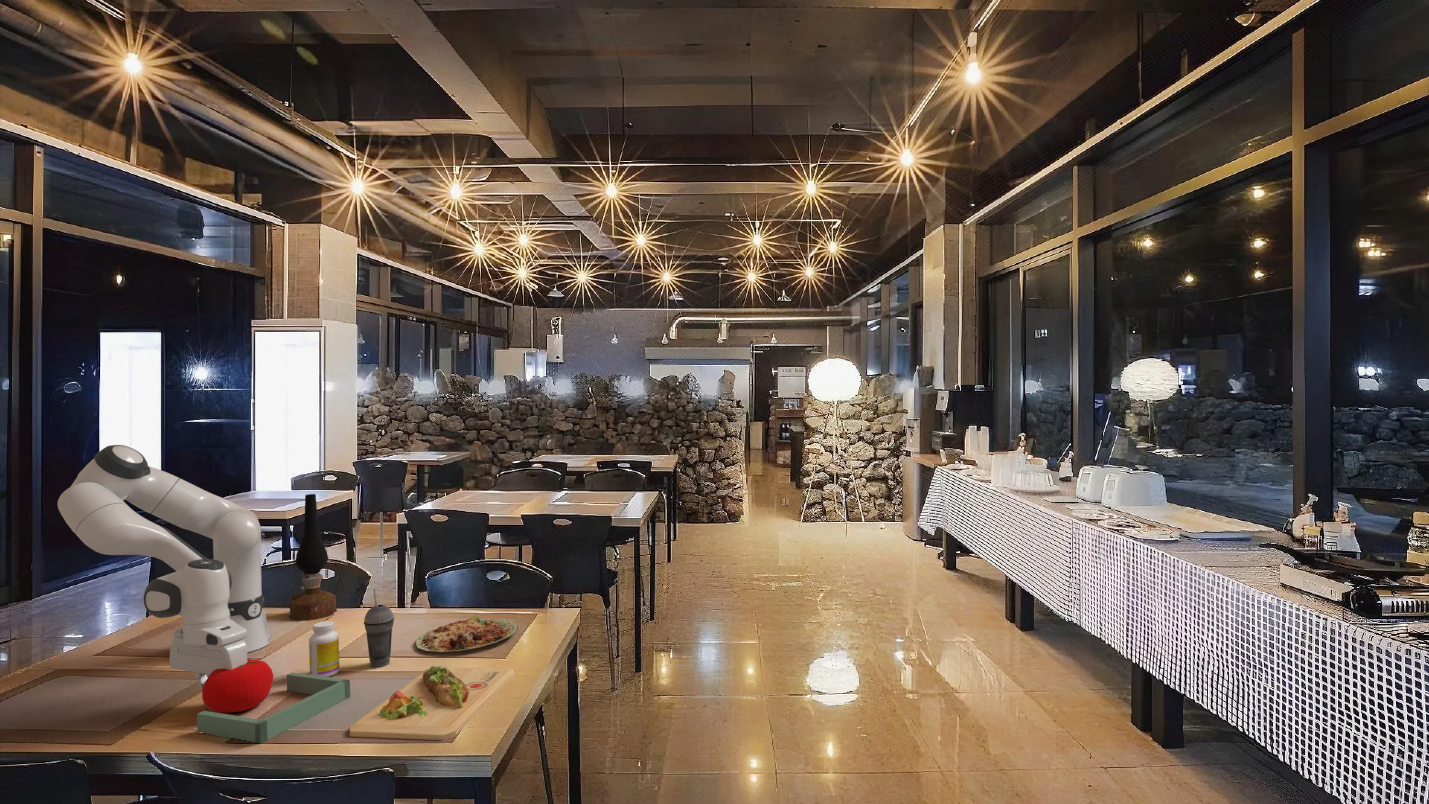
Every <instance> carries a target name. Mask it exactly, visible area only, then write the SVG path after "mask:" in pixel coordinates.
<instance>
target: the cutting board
mask: <svg viewBox="0 0 1429 804" xmlns="http://www.w3.org/2000/svg"><path fill="white" fill-rule="evenodd" d="M515 674H516V673H515V670H514V669H513V668H503V667H501V668H500V667H498V668H497V667H466V666H465V667H463V666H441V665H437V666H433V665H432V666H430V668H427V669H425V670H424V671H422V672H420V673H419V674H418V675H417V676H416V677H414V678H412V679H411V680H410V681H409V682H407V683H406V684H405V685H403V686H402V687H400V688H399V689H398V690H396V691H395V692H394V693H392V694H391V695H390V696H389V697H387V698H386V699H384V700H383V701H381V703H378V705H377V706H375V707H374V708H372V709H371V710H370V711H368V712H367V713H366V714H364V715H363V716H362V717H360V718H358V720H356V721H355V722H353V723H352V724H351V725H349V737H355V738H357V737H358V738H379V737H380V738H382V739H405V740H407V739H409V740H432V741H445V740H448V739H450V738H452V737H456V736H457V735H458V734H459V733H460V732H461V731H462V730H463V729H464V728H465V727H466V726H467V725H469V723H470V722H471V721H472V720H473V719H474V718H475V717H476V716H477V715H478V714H479V713H480V712H481V711H482V710H483V709H484V708H485V706H487V705H488V704H489V703H490V702H491V701H492V700H493V699H494V698H495V696H496V695H498V694H499V693H500V692H501V691H502V690H503V689H504V688H505V687H506V686H507V685H508V684H509V683H510V682H511V681H512V680H513V679H514V678H515ZM511 679H512V680H511ZM506 684H507V685H506ZM503 687H504V688H503ZM497 693H498V694H497ZM468 722H469V723H468ZM465 725H466V726H465ZM459 731H460V732H459Z"/></svg>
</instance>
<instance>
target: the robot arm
mask: <svg viewBox="0 0 1429 804" xmlns="http://www.w3.org/2000/svg"><path fill="white" fill-rule="evenodd" d="M125 501H127V502H129V503H130V504H132V505H133V506H135V507H137V508H139V509H140V510H142V511H144V512H146V513H148V514H151V515H153V516H155V517H157V518H159V519H161V520H163V521H165V522H168V523H170V524H172V525H174V526H176V527H179V528H180V529H184V530H187V531H191V532H193V533H196V534H199V535H201V536H204V537H207V538H209V539H211V540H212V541H213V542H212V549H213V558H208V557H206V556H205V555H203V554H202V553H200V552H199V550H197V549H195V548H194V547H193V546H192V545H190V544H189V543H188V542H186V541H185V540H183V539H182V538H181V537H179V536H178V535H177V534H176V533H174V532H173V531H171V530H169V529H168V528H166V527H164V526H162V525H160V524H156V523H155V522H153V521H150V520H149V519H147V518H145V517H144V516H142V515H140V514H139V513H137V512H136V511H134V510H133V508H131V507H130V506H129V505H128V504H127V503H126V502H125ZM57 509H58V511H59V514H60V515H61V517H62V518H63V519H64V521H65V523H66V525H68V527H69V528H70V529H71V531H72V532H73V533H74V534H75V535H76V536H77V537H78V538H79V540H80V541H81V542H82V543H83V544H84V545H85V546H87V547H88V548H89V549H91V550H93V551H94V552H97V553H99V554H102V555H108V556H146V557H152V558H156V559H159V560H161V561H162V562H164V563H165V564H167V565H168V566H169V567H170V568H172V569H173V570H175V571H174V572H172V573H168V574H166V575H163V576H160V577H157V578H155V579H152V580H151V581H150V582H149V583H148V584H147V586H146V587H145V589H144V592H143V605H144V608H145V609H146V611H147V612H148V613H149V614H150V615H151V616H153V617H155V618H158V619H165V618H173V617H176V616H181V617H182V619H183V620H182V627H179V628H178V629H176V630H175V632H174V633H173V639H172V641H171V644H170V651H169V666H170V668H171V669H173V670H177V671H178V670H179V671H187V672H192V673H195V679H196V680H197V682H198V683H199V690H200V691H201V692H202V689H203V685H204V683H205V681H206V679H207V678H208V676H209V675H210V674H211V673H212V672H213V671H214V670H216V669H223V668H224V669H229V670H232V669H234V668H236V667H239V666H240V665H244V664H246V663H247V659H248V653H250V652H254V651H257V650H259V649H262V648H264V647H266V646H268V644H270V643H271V642H270V639H271V638H272V634H271V633H270V632H269V628H268V622H267V615H266V611H265V610H264V609H263V608H264V606H265V603H264V602H265V598H264V593H262V592H263V591H262V528H261V524H260V522H259V518H258V517H257V515H256V514H255V513H254V512H253V511H252V510H249V509H248V508H245V507H243V506H242V505H240V504H236V503H234V502H232V501H230V500H227V499H225V498H223V497H221V496H218V495H216V494H213V493H211V492H209V491H207V490H204V489H203V488H201V487H199V486H196V485H194V484H192V483H190V482H189V481H186V480H184V479H182V478H180V477H178V476H175V475H174V474H171V473H169V472H167V471H163V470H161V469H158V468H156V467H153V466H149V464H148V461H147V459H146V458H145V456H144V455H143V454H142V453H141V452H139V451H138V450H137V449H135V448H132V447H130V446H127V445H124V444H112V445H107V446H106V447H104V448H102V449H101V450H100V451H98V452H97V453H96V454H95V455H94V458H93V459H92V460H91V461H90V462H88V463H87V464H86V465H85V467H84V468H82V470H80V472H79V473H78V474H77V477H76V478H75V479H74V481H73V482H72V484H71V486H70V487H68V488H67V489H66V490H64V491H63V492H62V493H61V494H60V496H59V498H58V499H57ZM269 638H270V639H269Z"/></svg>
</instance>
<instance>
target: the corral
mask: <svg viewBox="0 0 1429 804" xmlns="http://www.w3.org/2000/svg"><path fill="white" fill-rule="evenodd" d="M286 692H289V693H296V694H302V693H304V694H303V695H310V696H307V697H305V698H303V699H302V700H299V701H297V702H295V703H293V704H290V705H289V706H287V707H284V708H283V709H280V710H279V711H277V712H275V713H273V714H271V715H268V716H266V717H263V719H259V718H252V717H248V716H247V717H246V716H239V715H234V714H228V713H220V712H215V711H207V710H202V711H200V712H198V713H197V714H196V716H197V717H196V718H197V719H196V721H197V722H196V723H197V725H196V726H197V730H196V731H197V733H198V732H203V733H206V734H205V735H208V734H213V735H212V736H214V735H217V736H216V737H220V736H221V737H220V738H226V737H231V738H236V739H235V740H237V739H241V740H240V741H243V740H246V741H245V742H249V741H250V742H249V743H257V744H263V743H265V742H266V740H267V741H269V740H271V739H272V738H274V737H276V736H278V735H280V734H282V733H284V732H285V731H288V730H290V729H292V728H293V727H296V726H297V725H299V724H301V723H302V722H305V721H306V720H307V721H308V719H310V718H313V717H315V716H317V715H318V714H321V713H323V712H324V711H326V710H328V709H330V708H332V707H333V706H336V705H337V704H340V703H341V702H343V701H345V700H347V699H349V698H351V679H345V678H338V677H331V676H329V677H323V676H315V675H310V674H306V673H299V672H290V673H288V674H286ZM231 738H230V739H231Z"/></svg>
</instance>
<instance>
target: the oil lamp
mask: <svg viewBox="0 0 1429 804" xmlns="http://www.w3.org/2000/svg"><path fill="white" fill-rule="evenodd" d="M318 519H319V518H318V506H317V495H316V493H310V494H308V493H307V494H305V496H304V521H303V523H304V525H303V532H302V533H303V534H302V538H301V540H300V544H299V548H298V549H297V552H296V556H295V560H294V561H295V562H294V563H295V566H296V568H298V570H299V571H301V572H303V573H304V575H303V576H302V577H301V580H302V583H303V584H304V586H303V585H302V586H300V587H299V592H302V593H294V594H292V595H291V597H292V598H291V600H290V601H289V616H288V619H289V618H290V619H289V620H291V619H292V620H291V621H295V620H306V621H313V620H318V619H319V618H320V619H323V618H327V617H329V616H332V614H333V615H334V614H335V613H334V612H338V609H337V607H336V606H337V604H336V603H337V601H336V599H337V598H336V595H335V594H333V593H331V592H330V591H329V592H328V591H327V590H321V587H322V586H321V582H322V579H323V577H324V575H323V574H322V573H320V572H321V571H322V570H323V569H324V568H325V567H326V565H327V564H328V562H329V555H328V551H327V548H326V547H325V545H324V543H323V540H322V539H323V538H322V537H321V535H320V528H319V521H318ZM303 591H304V592H303ZM320 619H319V620H320Z"/></svg>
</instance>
